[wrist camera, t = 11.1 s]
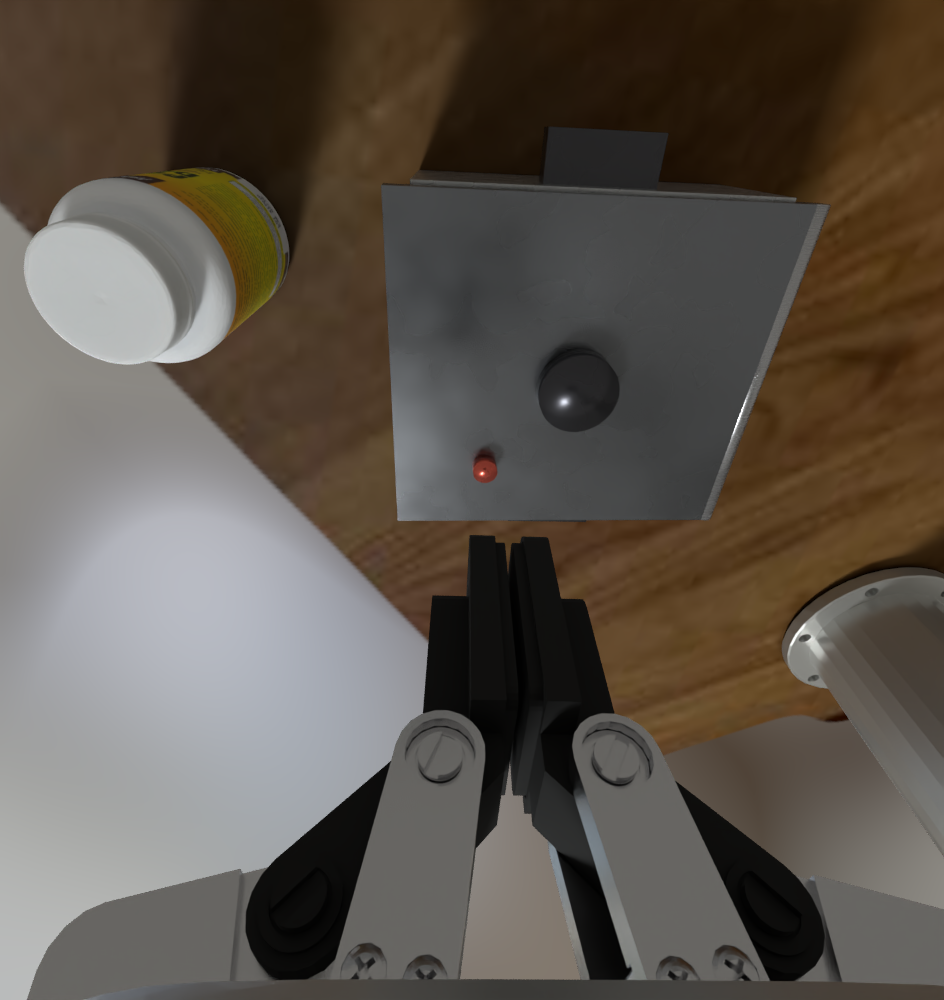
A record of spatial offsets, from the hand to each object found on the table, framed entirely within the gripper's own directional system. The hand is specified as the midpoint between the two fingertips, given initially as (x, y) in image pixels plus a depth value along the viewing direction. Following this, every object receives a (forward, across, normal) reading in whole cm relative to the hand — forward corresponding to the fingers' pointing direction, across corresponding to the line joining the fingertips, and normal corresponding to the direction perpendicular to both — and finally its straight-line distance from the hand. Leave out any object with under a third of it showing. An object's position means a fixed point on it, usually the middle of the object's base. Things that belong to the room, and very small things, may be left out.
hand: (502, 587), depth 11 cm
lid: (+11, -4, -1) cm, 12 cm away
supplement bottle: (+17, +12, -4) cm, 21 cm away
